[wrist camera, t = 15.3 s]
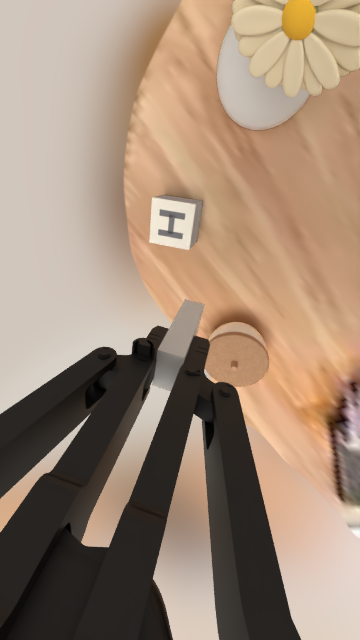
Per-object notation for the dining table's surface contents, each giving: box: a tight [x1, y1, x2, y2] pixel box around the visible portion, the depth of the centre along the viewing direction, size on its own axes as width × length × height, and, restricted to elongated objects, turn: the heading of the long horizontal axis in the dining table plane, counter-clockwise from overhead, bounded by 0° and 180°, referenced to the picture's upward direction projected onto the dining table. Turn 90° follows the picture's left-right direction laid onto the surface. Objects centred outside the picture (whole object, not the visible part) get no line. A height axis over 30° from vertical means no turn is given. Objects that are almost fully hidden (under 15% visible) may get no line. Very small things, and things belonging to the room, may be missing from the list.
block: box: [150, 195, 203, 250], centre depth 37 cm, size 6×6×6 cm
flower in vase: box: [216, 0, 360, 130], centre depth 19 cm, size 13×11×25 cm
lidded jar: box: [205, 322, 269, 387], centre depth 43 cm, size 11×11×9 cm
